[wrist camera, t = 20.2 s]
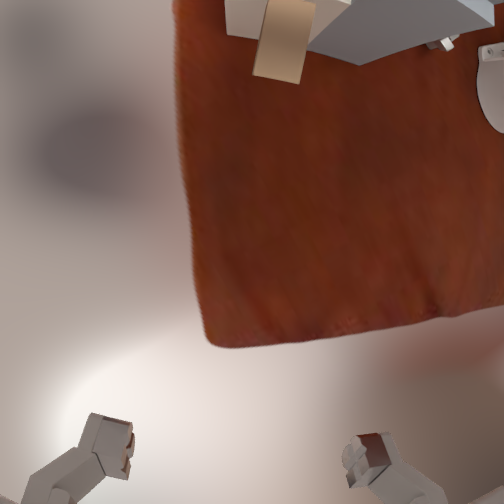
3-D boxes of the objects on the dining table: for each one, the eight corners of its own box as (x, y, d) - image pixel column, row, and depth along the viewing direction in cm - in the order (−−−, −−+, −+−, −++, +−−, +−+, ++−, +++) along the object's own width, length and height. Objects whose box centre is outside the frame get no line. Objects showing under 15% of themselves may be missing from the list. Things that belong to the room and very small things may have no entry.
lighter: (437, 30, 32) (468, 21, 25) (443, 39, 33) (475, 32, 25) (412, 48, 34) (442, 39, 26) (418, 58, 34) (450, 51, 27)
